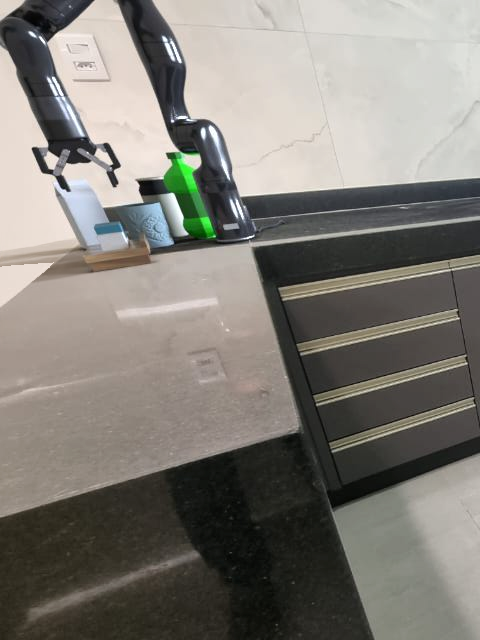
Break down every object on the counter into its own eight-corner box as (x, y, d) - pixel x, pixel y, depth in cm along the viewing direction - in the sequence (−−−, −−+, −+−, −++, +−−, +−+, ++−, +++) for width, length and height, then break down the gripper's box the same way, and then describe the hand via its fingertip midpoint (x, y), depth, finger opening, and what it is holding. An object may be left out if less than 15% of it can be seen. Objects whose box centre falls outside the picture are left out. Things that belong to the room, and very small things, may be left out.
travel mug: (164, 239, 165) (138, 179, 157) (155, 237, 169) (129, 179, 161) (194, 234, 171) (171, 176, 163) (184, 233, 175) (161, 176, 167)
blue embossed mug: (174, 245, 155) (157, 203, 150) (130, 251, 150) (110, 208, 145) (178, 240, 163) (161, 200, 158) (135, 245, 158) (117, 204, 153)
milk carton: (120, 245, 160) (89, 179, 152) (89, 250, 155) (55, 182, 147) (112, 243, 164) (82, 179, 156) (81, 248, 158) (48, 182, 150)
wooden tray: (95, 260, 141) (84, 239, 139) (152, 252, 148) (144, 231, 146) (91, 272, 129) (79, 249, 126) (154, 262, 136) (144, 240, 133)
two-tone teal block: (104, 245, 139) (94, 223, 137) (129, 241, 142) (120, 220, 140) (103, 251, 131) (92, 229, 129) (129, 247, 134) (119, 226, 132)
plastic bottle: (192, 236, 168) (159, 152, 158) (231, 232, 172) (201, 150, 161) (181, 242, 160) (145, 154, 149) (222, 238, 163) (189, 151, 153)
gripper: (12, 119, 118) (51, 194, 125) (97, 116, 126) (129, 186, 133) (18, 120, 123) (55, 192, 130) (99, 116, 131) (130, 184, 139)
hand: (92, 189), depth 132 cm, fingers open, 8 cm apart
